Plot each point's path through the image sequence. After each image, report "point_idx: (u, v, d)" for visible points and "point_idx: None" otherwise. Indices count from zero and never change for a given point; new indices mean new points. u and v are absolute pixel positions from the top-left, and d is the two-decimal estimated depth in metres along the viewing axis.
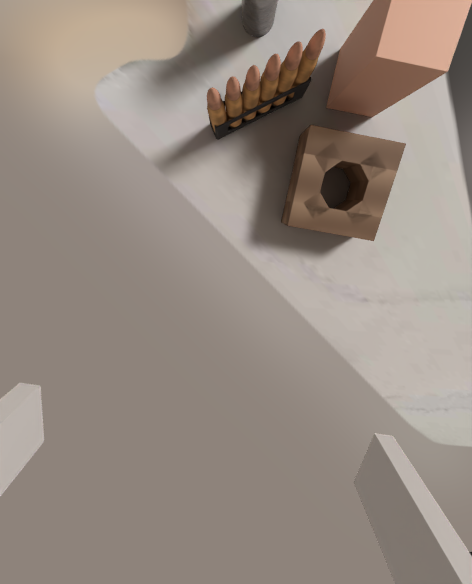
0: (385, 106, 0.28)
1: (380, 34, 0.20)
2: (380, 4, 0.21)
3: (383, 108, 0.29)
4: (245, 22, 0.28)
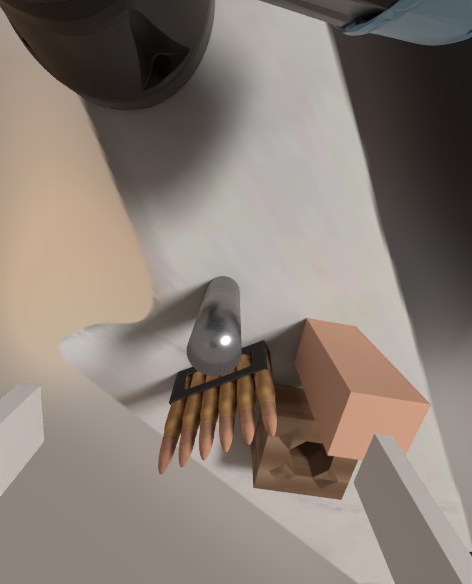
0: None
1: (331, 437, 0.19)
2: (333, 387, 0.20)
3: None
4: None
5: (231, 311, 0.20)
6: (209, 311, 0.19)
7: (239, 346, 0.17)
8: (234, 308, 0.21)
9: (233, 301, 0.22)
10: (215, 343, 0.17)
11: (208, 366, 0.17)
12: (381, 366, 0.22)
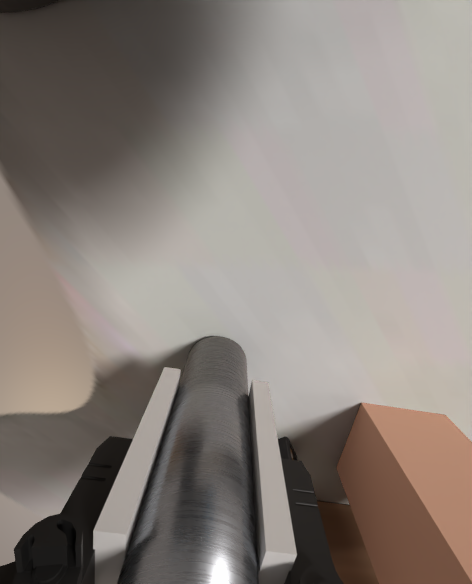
0: None
1: None
2: None
3: None
4: None
5: (231, 503, 0.07)
6: (167, 518, 0.07)
7: None
8: (238, 469, 0.08)
9: (236, 432, 0.10)
10: None
11: None
12: None
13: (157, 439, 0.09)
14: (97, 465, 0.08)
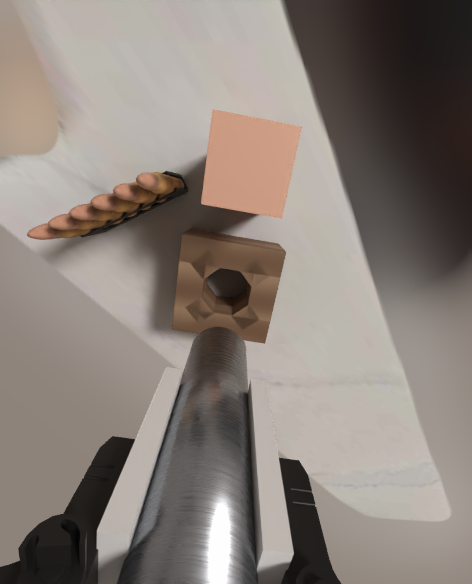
0: None
1: (204, 181, 0.18)
2: None
3: None
4: None
5: (232, 460, 0.09)
6: (177, 469, 0.08)
7: None
8: (238, 435, 0.10)
9: (235, 406, 0.11)
10: None
11: None
12: None
13: (159, 439, 0.09)
14: (100, 465, 0.08)
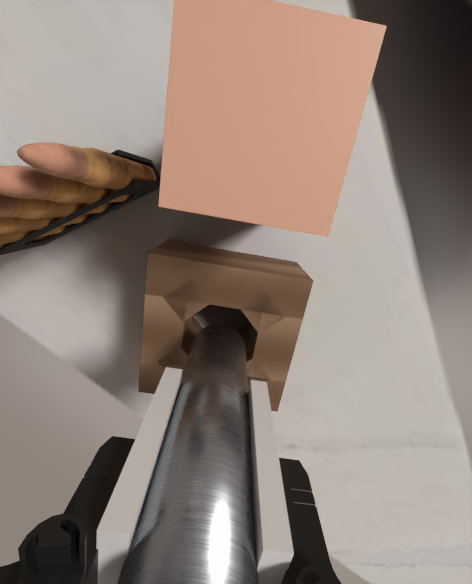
0: None
1: (164, 158, 0.08)
2: None
3: None
4: None
5: (232, 451, 0.09)
6: (180, 459, 0.08)
7: None
8: (238, 427, 0.10)
9: (235, 400, 0.11)
10: None
11: None
12: None
13: (159, 439, 0.09)
14: (99, 465, 0.08)
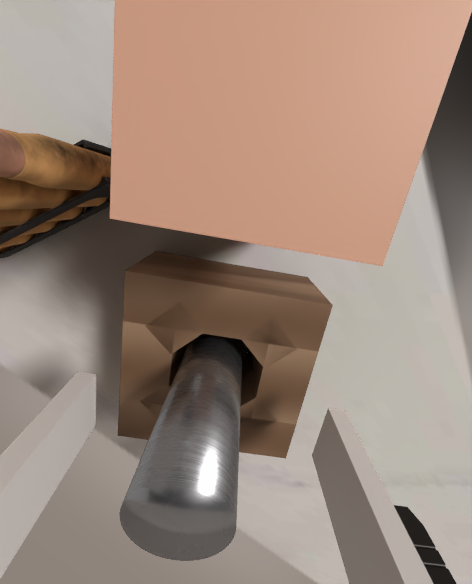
0: None
1: (117, 140, 0.05)
2: None
3: None
4: None
5: (222, 404, 0.11)
6: (178, 407, 0.10)
7: (231, 515, 0.08)
8: (229, 389, 0.12)
9: (228, 370, 0.13)
10: (179, 509, 0.08)
11: (168, 545, 0.08)
12: None
13: (29, 458, 0.08)
14: None
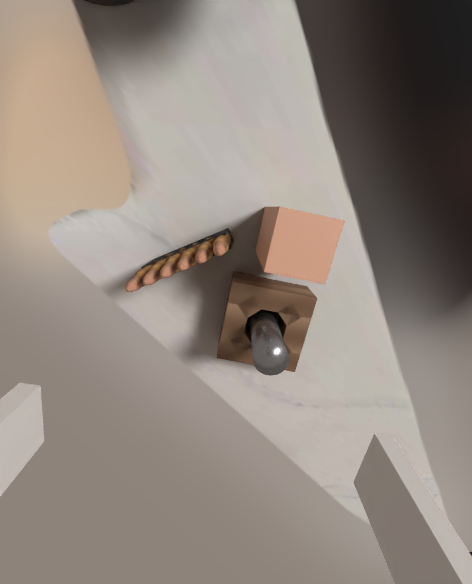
0: None
1: (267, 255, 0.24)
2: (272, 222, 0.25)
3: None
4: None
5: (278, 332, 0.29)
6: (264, 331, 0.29)
7: (288, 356, 0.26)
8: (278, 329, 0.30)
9: (275, 323, 0.32)
10: (272, 354, 0.26)
11: (266, 369, 0.27)
12: None
13: None
14: None
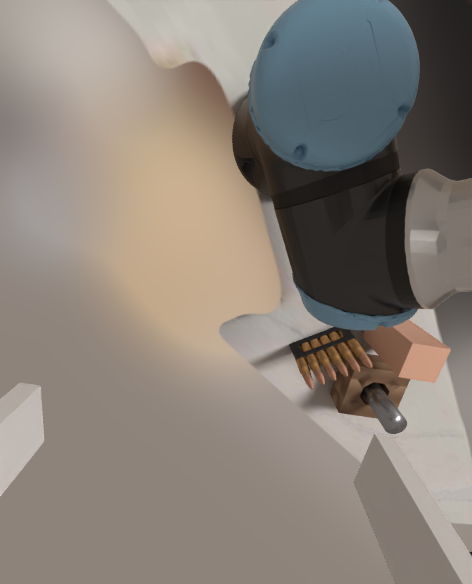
0: None
1: (400, 367, 0.39)
2: (400, 344, 0.40)
3: None
4: None
5: (392, 402, 0.45)
6: (384, 403, 0.44)
7: (406, 422, 0.42)
8: (389, 398, 0.46)
9: None
10: (396, 422, 0.42)
11: (391, 430, 0.42)
12: (423, 334, 0.41)
13: None
14: None
